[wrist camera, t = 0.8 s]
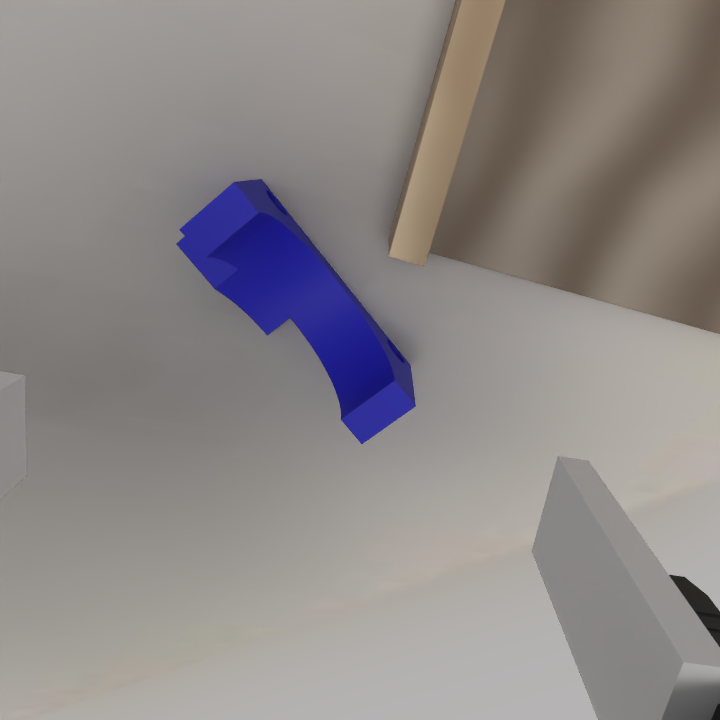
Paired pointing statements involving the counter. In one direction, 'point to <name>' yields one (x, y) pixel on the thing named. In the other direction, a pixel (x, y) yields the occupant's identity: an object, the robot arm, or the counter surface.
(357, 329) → the cable clip
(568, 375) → the counter surface
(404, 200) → the corner board
